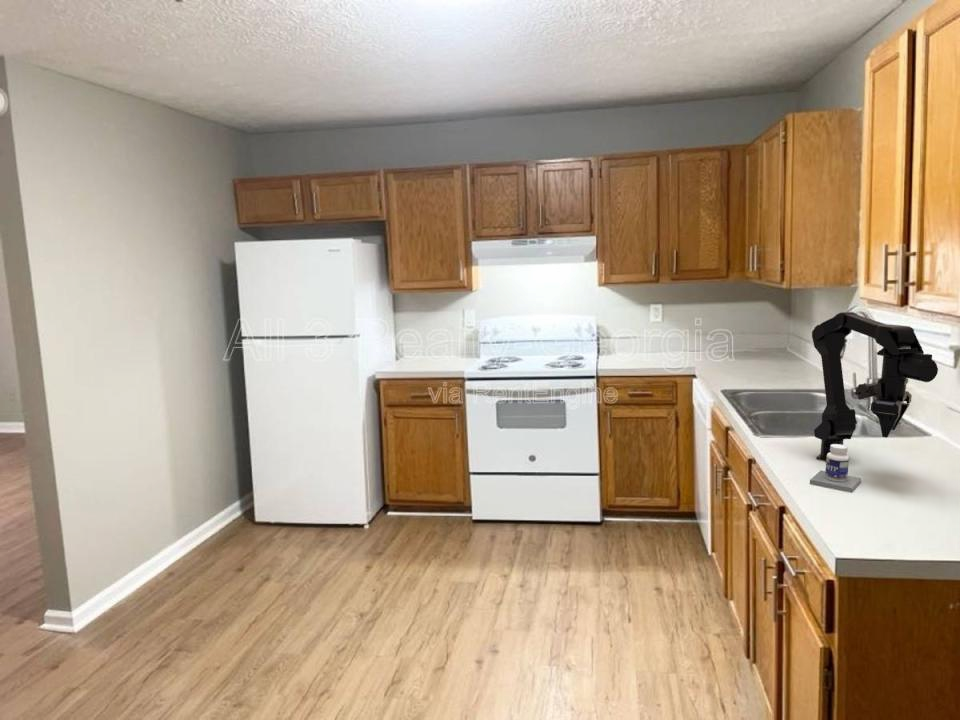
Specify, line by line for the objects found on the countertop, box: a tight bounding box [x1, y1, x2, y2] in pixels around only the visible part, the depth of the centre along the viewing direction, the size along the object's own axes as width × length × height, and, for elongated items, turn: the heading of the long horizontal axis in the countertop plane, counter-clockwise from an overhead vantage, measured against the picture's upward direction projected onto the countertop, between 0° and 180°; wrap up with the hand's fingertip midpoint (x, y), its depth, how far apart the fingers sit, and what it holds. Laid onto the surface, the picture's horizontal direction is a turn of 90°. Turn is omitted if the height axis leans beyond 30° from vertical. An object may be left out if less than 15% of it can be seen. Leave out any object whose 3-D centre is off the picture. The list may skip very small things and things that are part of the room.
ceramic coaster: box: [809, 470, 862, 494], centre depth 186 cm, size 10×10×1 cm
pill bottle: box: [824, 444, 850, 482], centre depth 185 cm, size 5×5×9 cm
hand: (888, 433), depth 185 cm, fingers open, 9 cm apart
